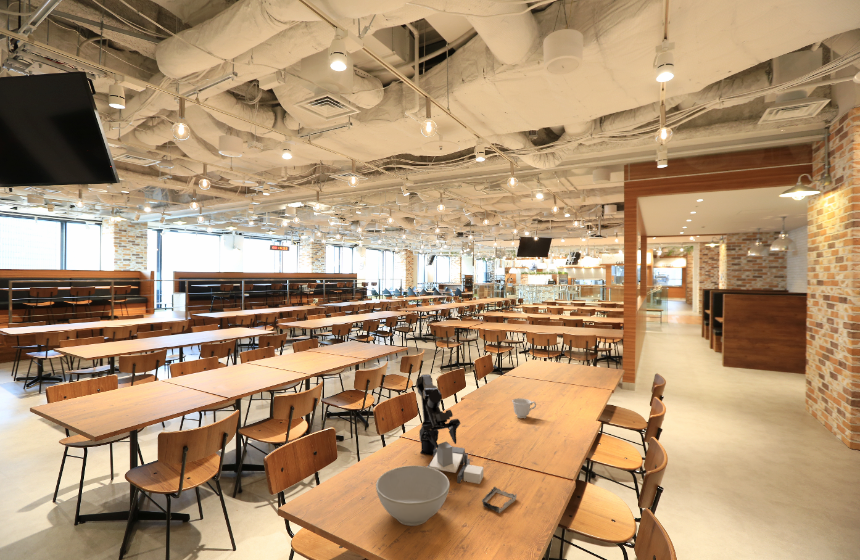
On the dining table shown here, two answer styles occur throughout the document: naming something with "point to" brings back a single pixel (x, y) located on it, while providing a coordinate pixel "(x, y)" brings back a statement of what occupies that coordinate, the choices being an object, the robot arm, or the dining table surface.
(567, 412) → the dining table surface
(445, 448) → the stone
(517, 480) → the dining table surface
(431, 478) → the decorative bowl
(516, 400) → the teacup
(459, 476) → the frame
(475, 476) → the light grey block
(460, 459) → the trapdoor
